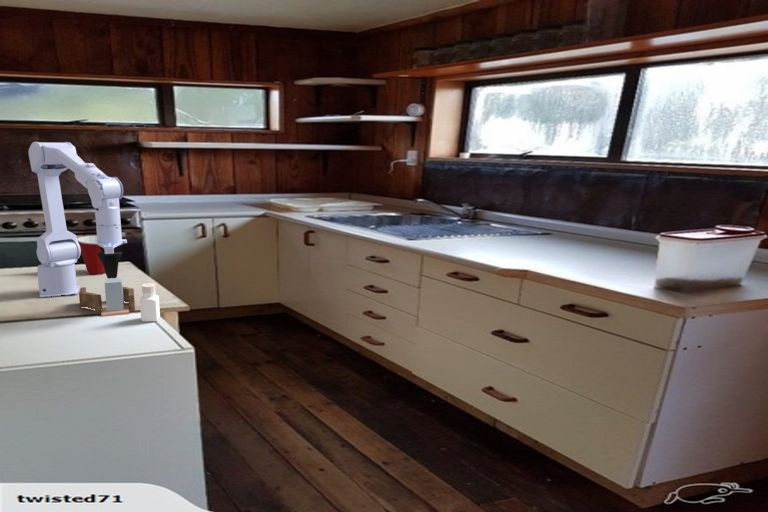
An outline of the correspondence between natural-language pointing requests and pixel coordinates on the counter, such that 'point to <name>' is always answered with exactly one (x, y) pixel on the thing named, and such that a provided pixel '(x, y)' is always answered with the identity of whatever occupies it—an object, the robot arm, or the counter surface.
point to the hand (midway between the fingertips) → (112, 274)
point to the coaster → (125, 311)
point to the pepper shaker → (149, 303)
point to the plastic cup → (91, 255)
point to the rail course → (96, 303)
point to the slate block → (114, 294)
